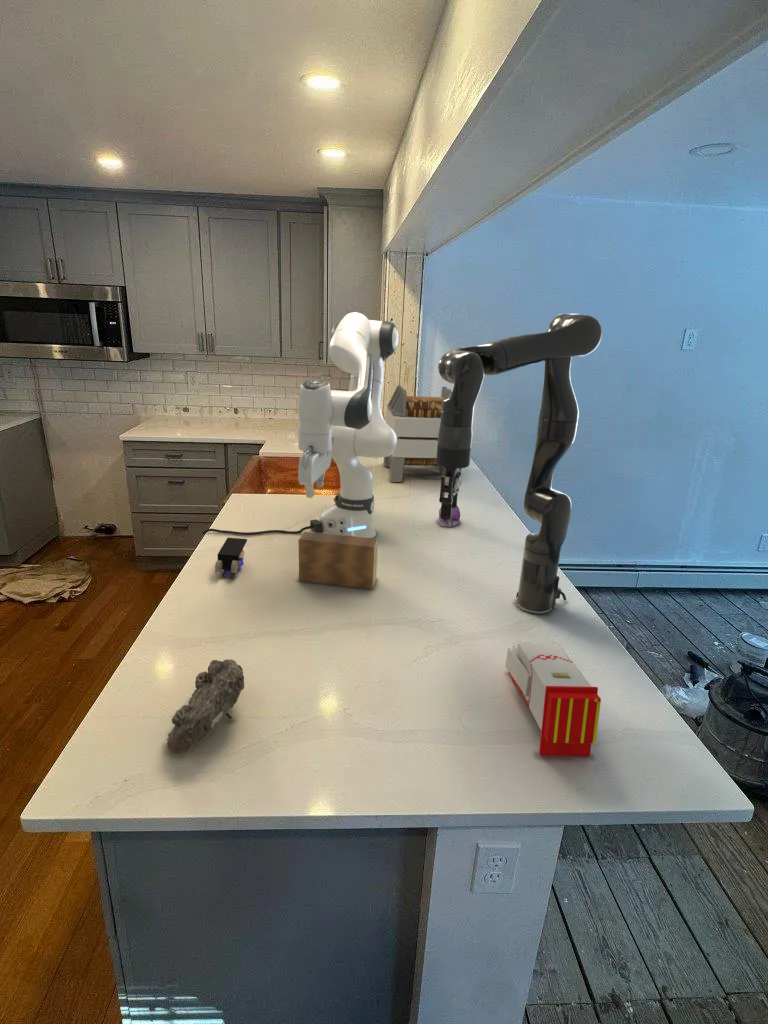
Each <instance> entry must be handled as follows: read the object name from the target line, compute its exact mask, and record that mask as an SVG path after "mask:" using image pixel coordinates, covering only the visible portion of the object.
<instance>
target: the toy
mask: <svg viewBox="0 0 768 1024" xmlns="http://www.w3.org/2000/svg"><path fill="white" fill-rule="evenodd" d="M511 646H512V647H508V648H507V653H506V658H505V659H506V660H505V668H506V669H507V671H508V675H509V676H510V677H511V679H512V681H513V682H514V684H515V686H516V688H517V689H518V691H519V693H520V694H521V696H522V698H523V700H524V702H525V703H526V705H527V706H528V708H529V710H530V712H531V715H532V716H533V718H534V720H535V722H536V723H537V724H536V725H537V726H538V727H539V730H540V731H541V733H540V739H539V740H540V741H539V749H538V751H539V752H538V754H539V756H543V757H548V756H550V757H551V756H552V757H553V756H554V757H568V756H569V757H591V751H592V744H596V743H597V734H598V726H599V717H600V710H601V702H602V698H601V697H600V696H599V694H598V693H599V688H598V686H592V684H590V682H589V681H588V680H587V678H586V677H585V676H584V675H583V673H582V672H581V671H580V669H579V668H578V667H577V665H576V664H575V663H574V661H573V660H572V659H571V658H570V656H569V655H568V654H567V652H566V651H565V649H564V647H562V645H561V644H560V643H559V642H553V641H551V642H549V641H548V642H547V641H546V642H545V641H517V642H512V645H511Z"/></svg>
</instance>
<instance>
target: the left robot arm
mask: <svg viewBox="0 0 768 1024" xmlns="http://www.w3.org/2000/svg"><path fill="white" fill-rule="evenodd" d="M399 338H400V337H399V331H398V328H397V325H396V324H395V323H394V322H391V321H388V320H383V321H382V320H376V319H369V318H368V317H367V316H366V315H364V314H363V313H360V312H357V311H353V312H352V311H351V312H349V313H347V314H346V315H345V316H343V318H342V319H341V320H340V321H338V322H336V323H335V324H334V325H333V327H332V329H331V333H330V343H329V348H328V354H329V357H330V358H329V359H330V360H331V361H332V363H333V364H334V365H335V366H336V367H337V369H339V370H341V371H343V372H344V373H347V374H350V379H349V384H348V390H337V389H331V384H330V382H329V381H328V380H325V379H322V378H313V379H307V380H305V381H303V382H302V383H301V384H300V386H299V387H300V388H299V393H298V404H297V405H298V407H297V408H298V411H297V413H298V419H299V427H298V449H299V450H300V451H302V452H303V453H302V454H300V456H299V460H298V471H297V472H298V475H297V481H298V485H300V486H304V489H305V491H306V492H305V493H306V495H305V496H306V498H308V499H309V498H310V499H313V497H315V490H314V485H315V487H316V488H319V489H321V488H323V487H324V480H325V476H326V471H327V470H328V469H329V468H330V467H331V462H332V460H333V461H334V463H335V465H336V467H337V470H338V473H339V483H340V484H339V485H340V488H339V489H340V490H339V491H338V492H337V494H336V495H335V496H334V497H333V502H334V504H333V505H331V506H329V507H328V508H326V509H325V510H323V512H321V514H320V515H319V517H318V519H310V520H309V525H307V526H304V527H301V528H300V529H299V530H295V531H293V530H291V531H290V530H282V529H269V530H268V529H267V530H261V531H249V532H248V531H247V532H246V531H233V530H225V529H224V530H223V529H216V528H207V529H205V530H203V531H202V533H201V534H202V535H205V534H207V533H209V532H213V533H214V532H215V533H219V534H230V535H239V536H256V535H264V534H273V533H275V534H276V533H278V534H290V535H298V534H301V533H303V532H305V531H306V530H309V529H310V532H314V533H324V534H334V535H344V536H354V537H363V538H373V539H374V538H375V537H376V535H377V532H376V528H375V523H374V513H373V512H374V509H375V496H374V474H373V472H372V471H371V469H369V467H367V466H365V465H364V464H362V463H361V462H360V461H359V459H358V457H360V458H372V459H379V458H384V457H389V456H390V455H391V454H392V453H393V452H394V451H395V449H396V446H397V437H396V434H395V432H394V430H393V429H392V428H391V427H390V426H389V425H388V424H387V423H386V419H384V416H383V414H382V413H383V412H382V406H381V405H382V391H383V384H384V362H386V361H388V359H389V357H391V356H392V355H393V354H394V353H395V351H396V350H397V347H398V344H399V340H400V339H399Z"/></svg>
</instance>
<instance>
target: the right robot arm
mask: <svg viewBox="0 0 768 1024" xmlns="http://www.w3.org/2000/svg"><path fill="white" fill-rule="evenodd" d="M602 328H603V327H602V325H601V323H600V321H599V320H598V319H597V318H596V317H595V316H592V315H589V314H584V313H559V314H557V315H556V316H554V318H552V320H551V321H550V323H549V326H548V328H547V331H543V332H535V333H528V334H520V335H514V336H507V337H505V338H504V337H503V338H501V339H498V340H494V341H491V342H488V343H483V344H478V345H470V346H463V347H458V348H457V347H456V348H453V349H451V350H448V351H446V352H445V353H444V354H443V355H442V356H441V358H440V359H439V361H438V365H437V371H438V374H439V376H440V377H441V378H442V379H443V380H444V381H446V382H447V383H449V384H453V388H452V395H451V396H447V397H445V398H444V400H443V402H442V409H441V422H440V428H439V433H438V445H437V458H436V462H437V464H438V465H440V466H443V467H445V468H446V470H445V471H444V473H442V474H441V477H440V480H441V481H440V491H439V498H438V502H439V503H440V504H441V505H440V508H441V516H440V517H441V519H447V520H449V519H450V517H451V508H456V506H458V497H459V492H460V488H461V486H462V477H463V473H462V470H463V469H465V468H468V467H469V466H470V464H471V457H472V447H473V446H472V445H473V437H474V436H473V433H474V432H473V425H474V423H473V422H474V415H475V414H474V413H475V405H476V402H477V400H478V397H479V394H480V392H481V389H482V386H483V382H484V379H485V376H496V375H497V376H498V375H500V374H503V373H507V372H510V371H514V370H517V369H520V368H523V367H526V366H531V365H534V364H537V363H538V364H539V363H541V362H544V374H543V384H542V385H543V386H542V393H541V403H540V410H539V414H538V422H537V428H536V438H535V446H534V450H533V451H534V452H533V458H532V459H533V460H532V464H531V469H530V473H529V477H528V482H527V485H526V489H525V493H524V498H523V511H524V513H525V515H526V516H527V517H528V518H529V519H531V520H533V521H535V522H537V523H539V524H540V529H539V531H534V532H531V533H528V534H527V535H526V537H525V540H524V548H523V555H522V561H521V562H522V563H521V568H520V569H521V570H520V577H519V583H518V591H517V592H516V594H515V595H516V596H515V599H516V601H515V602H516V606H517V607H518V608H519V609H520V610H521V611H523V612H527V613H530V614H535V615H544V614H548V613H550V612H551V611H552V610H553V609H555V608H556V603H557V599H558V600H559V599H561V597H562V599H563V601H567V596H566V594H565V593H564V592H563V591H562V588H560V587H559V581H560V576H559V575H558V569H559V564H560V558H561V557H560V556H561V552H562V546H563V545H564V542H565V540H566V537H567V534H568V529H569V524H570V520H571V515H572V511H573V510H572V507H573V505H572V499H571V497H570V496H569V495H568V494H566V493H563V492H562V491H559V490H557V489H554V488H553V487H552V486H553V485H552V484H553V479H554V474H555V470H556V468H557V466H558V464H559V462H560V461H561V460H562V459H563V457H564V456H565V455H566V454H567V453H568V451H569V449H570V448H571V447H572V445H573V443H574V442H575V439H576V435H577V429H578V422H579V417H580V416H579V415H580V411H579V405H578V401H577V398H576V394H575V392H574V388H573V384H572V380H571V365H572V358H573V357H585V356H587V355H589V354H591V353H593V352H594V351H595V350H596V349H597V348H598V347H599V345H600V343H601V340H602V335H603V329H602ZM445 494H448V498H445V497H444V496H445Z"/></svg>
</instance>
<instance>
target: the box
mask: <svg viewBox="0 0 768 1024" xmlns="http://www.w3.org/2000/svg"><path fill="white" fill-rule="evenodd" d="M378 545H379V539H378V538H374V537H373V538H363V537H354V536H344V535H334V534H324V533H314V532H311V531H303V532H302V535H301V536H300V537H299V538H298V581H299V582H303V583H304V582H306V583H313V584H323V585H331V586H339V587H348V588H357V589H366V590H373V589H374V587H375V584H376V581H377V569H378V551H379V550H378V548H379V547H378Z"/></svg>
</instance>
